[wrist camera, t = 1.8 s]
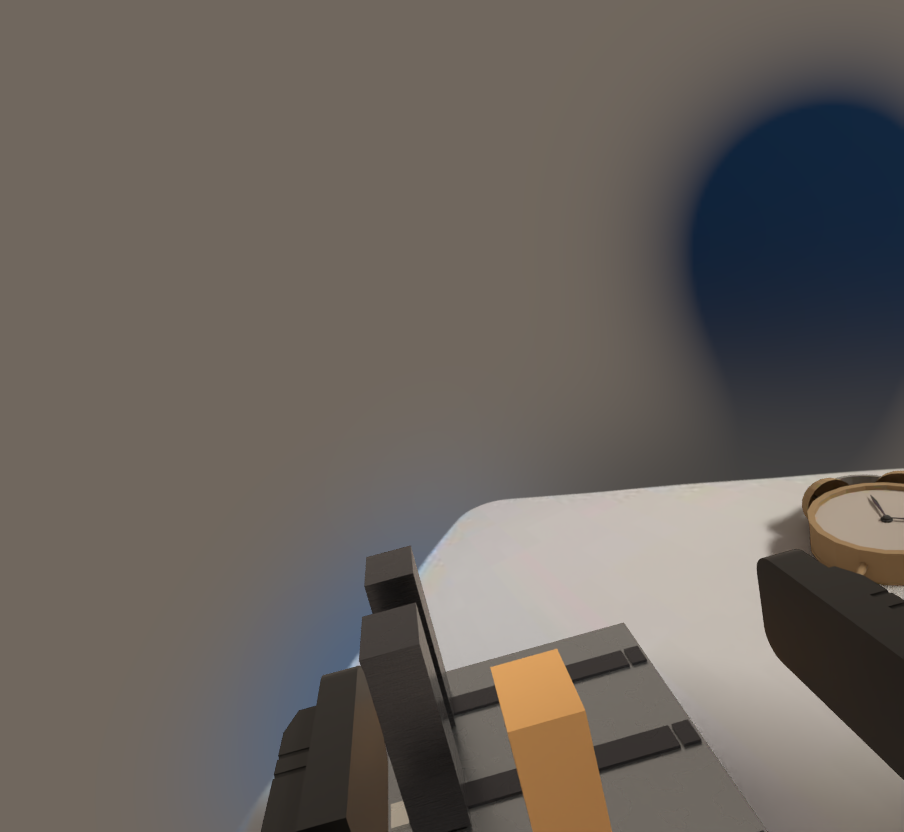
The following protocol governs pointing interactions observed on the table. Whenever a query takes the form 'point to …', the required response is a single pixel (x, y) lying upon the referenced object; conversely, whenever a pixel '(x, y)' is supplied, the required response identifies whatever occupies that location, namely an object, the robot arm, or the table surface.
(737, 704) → the table surface
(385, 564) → the grey slotted base
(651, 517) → the table surface
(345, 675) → the robot arm
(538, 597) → the table surface
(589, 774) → the orange rectangular block
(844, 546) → the alarm clock
